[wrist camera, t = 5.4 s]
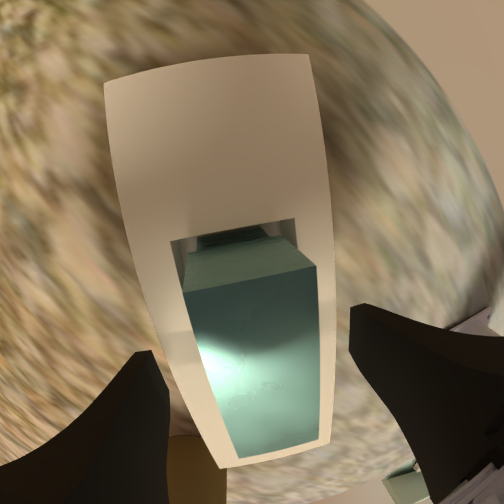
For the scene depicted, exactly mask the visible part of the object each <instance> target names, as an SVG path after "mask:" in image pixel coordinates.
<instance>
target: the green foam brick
mask: <svg viewBox="0 0 504 504" xmlns="http://www.w3.org/2000/svg"><path fill="white" fill-rule="evenodd" d="M182 294H183V297H184V301H185V305H186V308H187V312H188V315H189V319H190V322H191V326H192V329H193V332H194V336H195V339H196V342H197V346H198V349H199V352H200V355H201V358H202V361H203V364H204V367H205V370H206V373H207V376H208V379H209V382H210V385H211V388H212V391H213V394H214V396H215V399H216V402H217V405H218V407H219V410H220V413H221V415H222V418H223V421H224V423H225V426H226V428H227V431H228V434H229V436H230V439H231V441H232V443H233V446H234V448H235V451H236V453H237V456H238V458H239V459H240V458H246V457H251V456H256V455H261V454H266V453H270V452H274V451H279V450H283V449H287V448H290V447H294V446H298V445H301V444H305V443H308V442H311V441H314V440H318V439H319V418H320V329H319V302H318V282H317V266H316V265H315V264H314V263H313V262H312V261H311V260H309V259H308V258H307V257H306V256H305V255H304V254H303V253H301V252H300V251H299V250H298V249H297V248H296V247H295V246H293V245H292V244H291V243H290V242H289V241H288V240H286V239H285V238H284V237H283V236H282V235H278V236H272V237H270V236H269V235H268V234H267V233H266V232H265V231H264V230H263V229H262V227H261V226H260V227H255V228H249V229H244V230H238V231H233V232H228V233H222V234H217V235H212V236H207V237H202V238H197V247H196V251H194V252H188V257H187V264H186V270H185V277H184V284H183V291H182Z"/></svg>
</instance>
